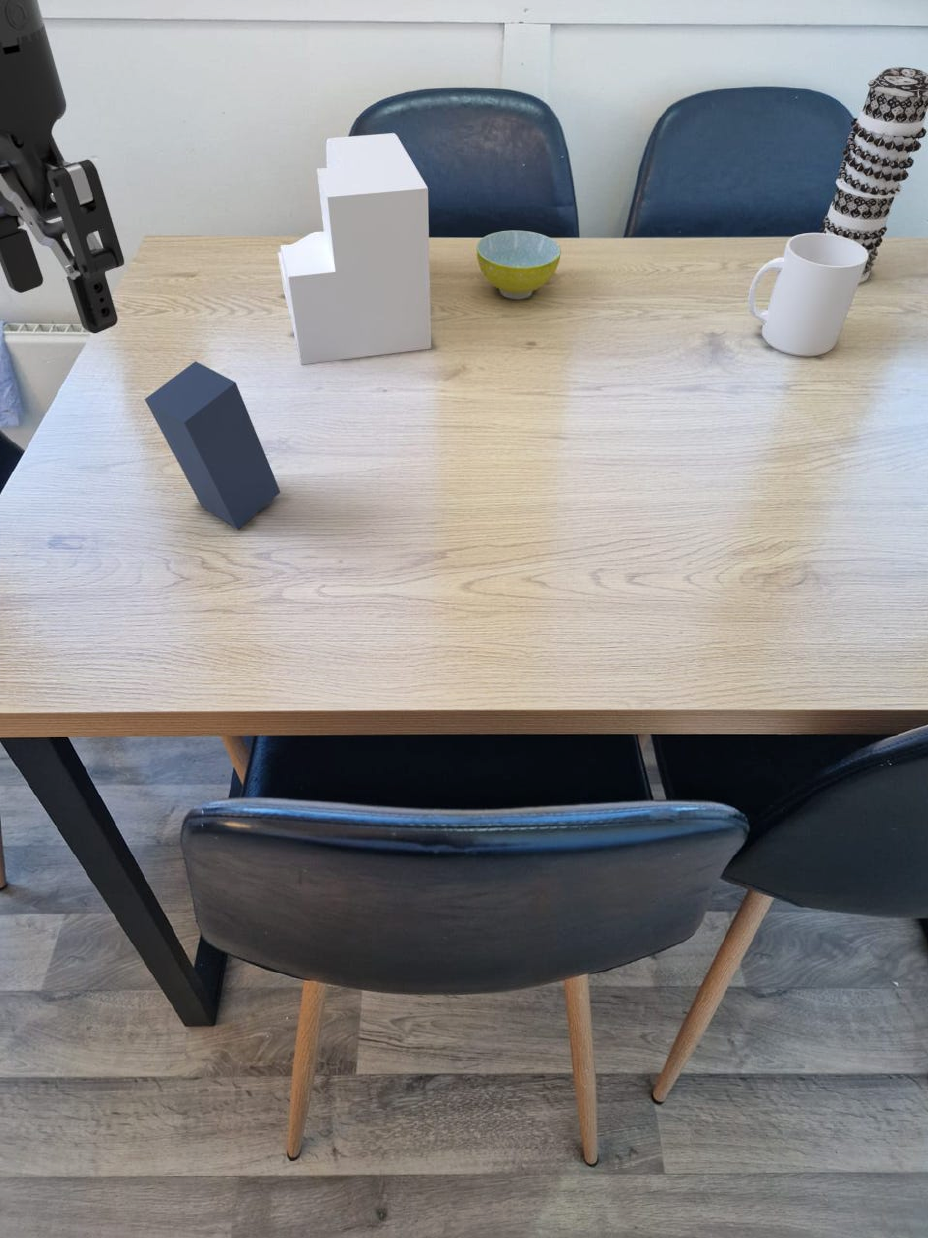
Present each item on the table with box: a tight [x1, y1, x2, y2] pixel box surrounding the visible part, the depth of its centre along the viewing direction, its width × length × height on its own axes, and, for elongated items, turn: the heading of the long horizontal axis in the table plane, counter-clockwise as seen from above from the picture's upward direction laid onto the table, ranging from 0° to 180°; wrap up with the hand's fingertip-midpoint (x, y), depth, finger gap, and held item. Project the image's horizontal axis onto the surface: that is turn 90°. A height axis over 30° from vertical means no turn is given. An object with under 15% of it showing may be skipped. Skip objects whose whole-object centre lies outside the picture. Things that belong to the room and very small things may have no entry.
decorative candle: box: [819, 66, 928, 284], centre depth 112 cm, size 9×9×25 cm
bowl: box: [476, 230, 562, 300], centre depth 114 cm, size 11×12×6 cm
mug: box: [747, 232, 868, 358], centre depth 104 cm, size 10×12×12 cm
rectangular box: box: [144, 360, 281, 531], centre depth 78 cm, size 14×6×6 cm
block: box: [277, 132, 432, 365], centre depth 105 cm, size 25×16×19 cm, turn 15°
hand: (64, 307), depth 57 cm, fingers open, 8 cm apart
